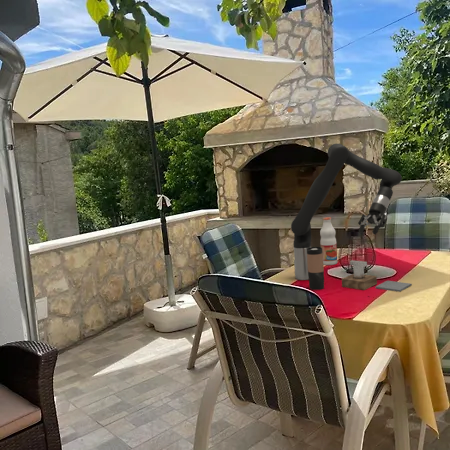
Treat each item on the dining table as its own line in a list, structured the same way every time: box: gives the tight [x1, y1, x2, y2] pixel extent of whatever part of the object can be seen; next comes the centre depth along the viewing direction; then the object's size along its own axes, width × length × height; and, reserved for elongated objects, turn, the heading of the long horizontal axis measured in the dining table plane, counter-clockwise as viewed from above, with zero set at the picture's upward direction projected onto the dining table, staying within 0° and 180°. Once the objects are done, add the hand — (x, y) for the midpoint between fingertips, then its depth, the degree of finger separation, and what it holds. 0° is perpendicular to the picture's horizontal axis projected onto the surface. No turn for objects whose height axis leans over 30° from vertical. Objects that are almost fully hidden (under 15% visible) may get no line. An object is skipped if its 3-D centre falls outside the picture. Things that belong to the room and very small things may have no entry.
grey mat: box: [374, 280, 413, 293], centre depth 208 cm, size 12×12×1 cm
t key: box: [349, 260, 368, 279], centre depth 214 cm, size 8×4×12 cm, turn 43°
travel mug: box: [307, 246, 325, 291], centre depth 216 cm, size 8×8×20 cm
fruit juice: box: [319, 216, 338, 266], centre depth 264 cm, size 9×9×28 cm
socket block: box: [341, 273, 378, 291], centre depth 215 cm, size 12×12×4 cm
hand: (366, 233), depth 216 cm, fingers open, 8 cm apart
